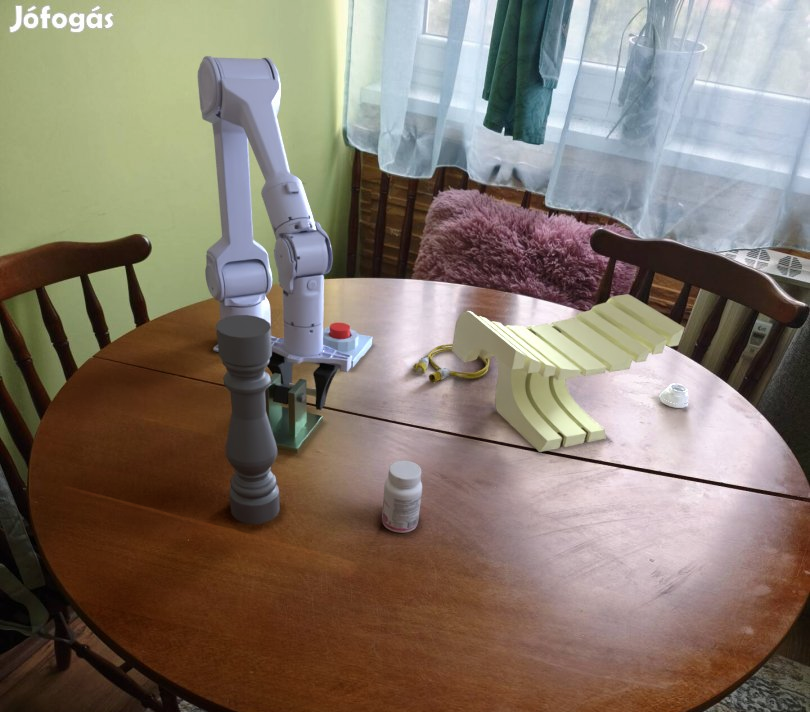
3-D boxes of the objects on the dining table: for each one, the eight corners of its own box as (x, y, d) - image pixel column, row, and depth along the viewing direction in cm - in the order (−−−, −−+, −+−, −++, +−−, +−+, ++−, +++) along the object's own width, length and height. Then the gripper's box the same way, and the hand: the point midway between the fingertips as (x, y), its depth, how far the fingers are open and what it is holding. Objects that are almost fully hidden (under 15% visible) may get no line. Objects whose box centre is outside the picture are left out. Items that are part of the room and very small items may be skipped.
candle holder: (288, 504, 91) (283, 321, 75) (265, 532, 86) (255, 343, 70) (245, 492, 92) (232, 309, 76) (221, 518, 87) (201, 330, 71)
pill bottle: (380, 510, 92) (384, 457, 86) (415, 511, 92) (422, 458, 87) (382, 533, 88) (387, 480, 83) (419, 534, 89) (426, 481, 83)
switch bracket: (274, 411, 108) (272, 362, 103) (322, 422, 107) (323, 373, 102) (246, 443, 101) (242, 392, 95) (297, 455, 100) (296, 404, 94)
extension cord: (397, 355, 127) (398, 345, 126) (471, 346, 133) (473, 336, 132) (426, 387, 119) (427, 376, 118) (504, 375, 125) (506, 365, 124)
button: (333, 330, 126) (333, 320, 124) (352, 334, 125) (352, 324, 124) (326, 337, 123) (326, 328, 122) (345, 341, 122) (346, 332, 121)
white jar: (666, 392, 126) (653, 401, 123) (671, 378, 124) (659, 386, 121) (691, 403, 123) (679, 412, 120) (697, 389, 121) (685, 397, 118)
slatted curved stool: (588, 385, 125) (617, 287, 114) (646, 430, 115) (684, 327, 103) (443, 409, 114) (458, 303, 102) (492, 461, 103) (516, 350, 92)
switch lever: (289, 394, 109) (291, 378, 108) (319, 400, 108) (321, 385, 107) (263, 399, 99) (265, 382, 98) (296, 406, 98) (298, 390, 98)
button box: (326, 335, 131) (327, 317, 128) (371, 345, 129) (373, 327, 127) (304, 359, 123) (304, 340, 120) (352, 370, 121) (353, 351, 119)
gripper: (244, 319, 98) (249, 404, 107) (341, 339, 96) (338, 425, 104) (265, 302, 103) (269, 384, 112) (357, 321, 101) (353, 403, 110)
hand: (303, 403), depth 109 cm, fingers closed on switch lever, 5 cm apart
